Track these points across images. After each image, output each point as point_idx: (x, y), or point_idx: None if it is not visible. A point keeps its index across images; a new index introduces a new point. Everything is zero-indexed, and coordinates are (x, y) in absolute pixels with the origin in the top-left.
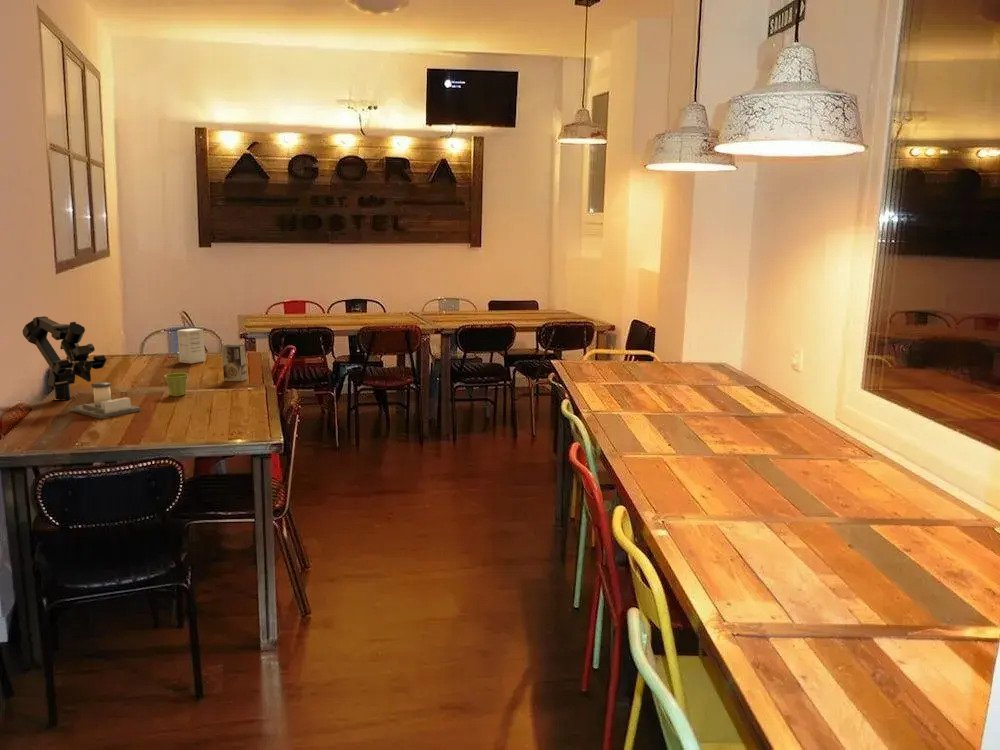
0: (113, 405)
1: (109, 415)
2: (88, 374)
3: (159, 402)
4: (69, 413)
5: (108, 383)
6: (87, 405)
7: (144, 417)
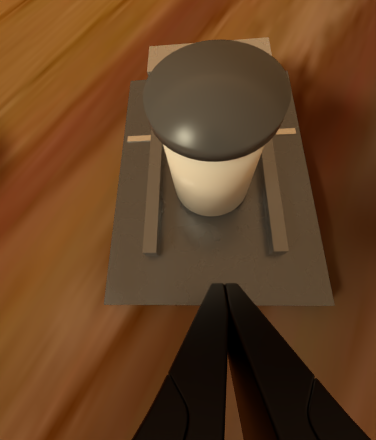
0: None
1: None
2: (220, 340)
3: (5, 162)
4: (345, 254)
5: (173, 66)
6: (280, 197)
7: (176, 28)
